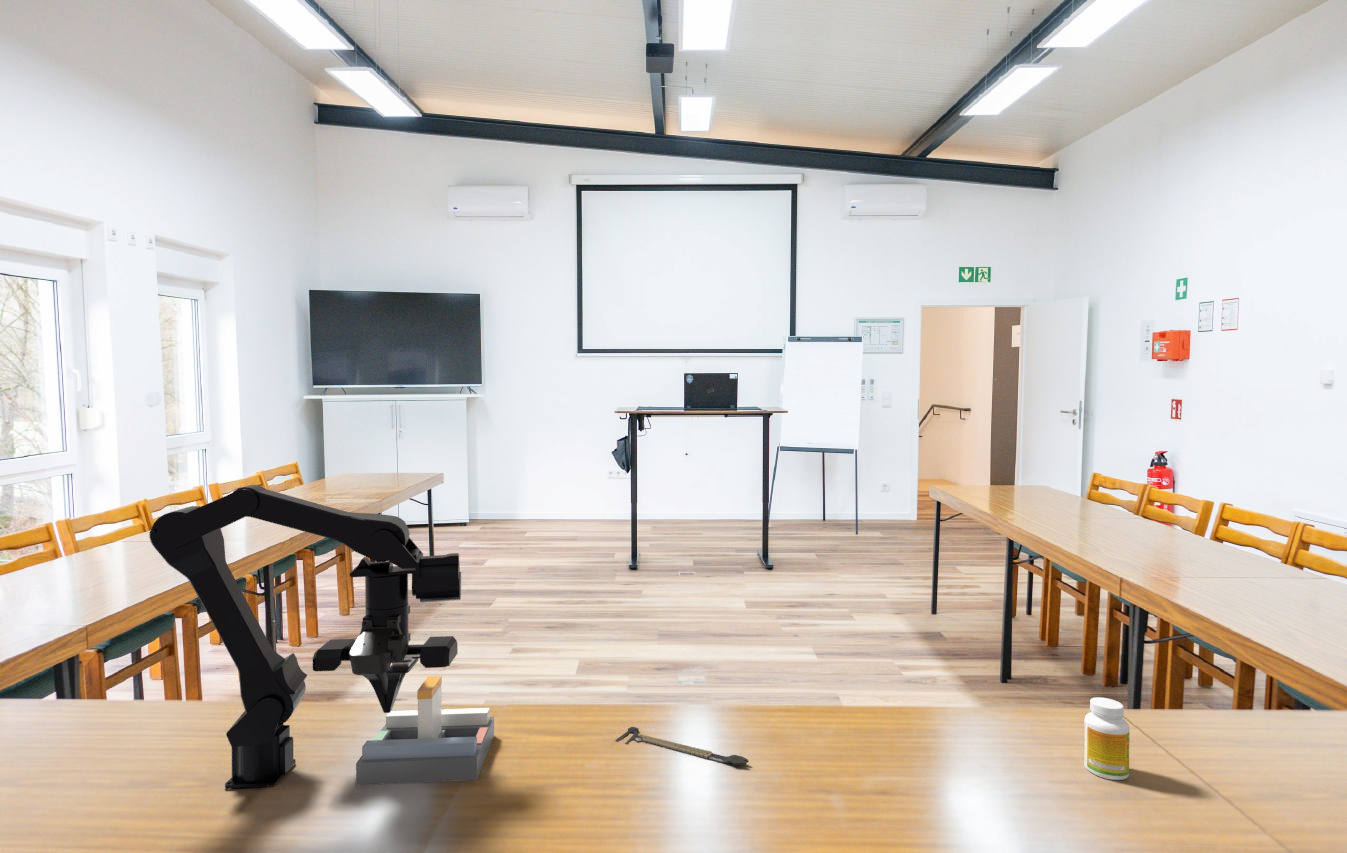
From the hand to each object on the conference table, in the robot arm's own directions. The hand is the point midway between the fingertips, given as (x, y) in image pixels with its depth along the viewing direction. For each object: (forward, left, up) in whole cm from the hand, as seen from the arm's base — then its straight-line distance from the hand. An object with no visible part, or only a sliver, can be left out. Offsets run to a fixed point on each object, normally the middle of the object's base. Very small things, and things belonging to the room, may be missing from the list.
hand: (387, 711), depth 98 cm
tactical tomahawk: (+42, -1, -8) cm, 43 cm away
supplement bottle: (+102, -11, -7) cm, 103 cm away
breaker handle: (+6, 0, -5) cm, 8 cm away
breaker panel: (+6, 0, -7) cm, 9 cm away
